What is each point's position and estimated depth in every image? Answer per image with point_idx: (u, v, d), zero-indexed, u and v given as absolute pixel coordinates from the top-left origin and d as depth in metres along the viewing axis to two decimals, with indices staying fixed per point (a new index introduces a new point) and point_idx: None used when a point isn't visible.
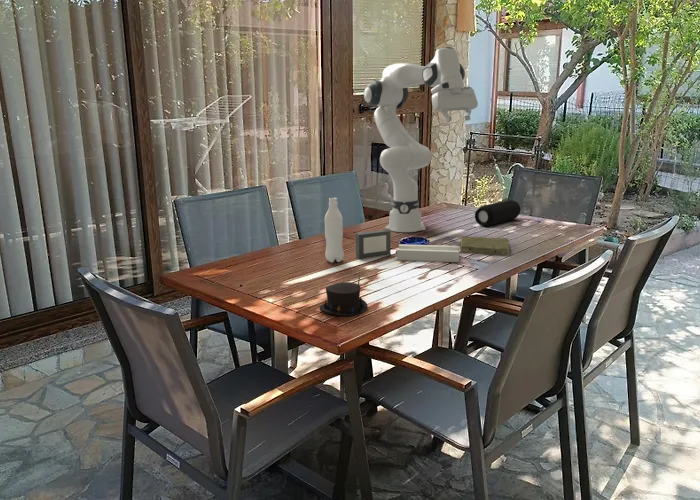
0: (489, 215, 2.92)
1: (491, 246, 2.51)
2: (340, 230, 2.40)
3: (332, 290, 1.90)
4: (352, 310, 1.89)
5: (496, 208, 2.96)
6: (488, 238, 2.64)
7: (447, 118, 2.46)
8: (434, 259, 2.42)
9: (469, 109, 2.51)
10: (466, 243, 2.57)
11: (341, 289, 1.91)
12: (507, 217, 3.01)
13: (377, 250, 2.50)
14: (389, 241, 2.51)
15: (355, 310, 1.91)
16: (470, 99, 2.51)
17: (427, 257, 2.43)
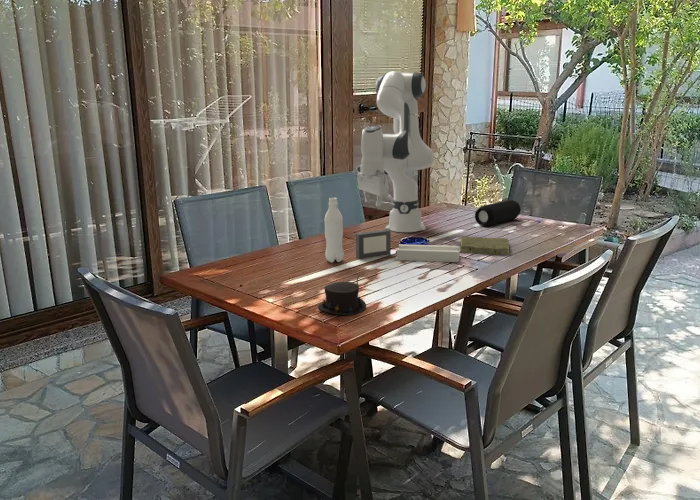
0: (489, 215, 2.92)
1: (491, 246, 2.51)
2: (340, 230, 2.40)
3: (331, 289, 1.91)
4: (350, 309, 1.90)
5: (496, 208, 2.96)
6: (488, 238, 2.64)
7: None
8: (434, 259, 2.42)
9: (377, 196, 2.39)
10: (466, 243, 2.57)
11: (340, 288, 1.92)
12: (507, 217, 3.01)
13: (377, 250, 2.50)
14: (389, 241, 2.51)
15: (353, 309, 1.92)
16: (376, 187, 2.37)
17: (427, 257, 2.43)
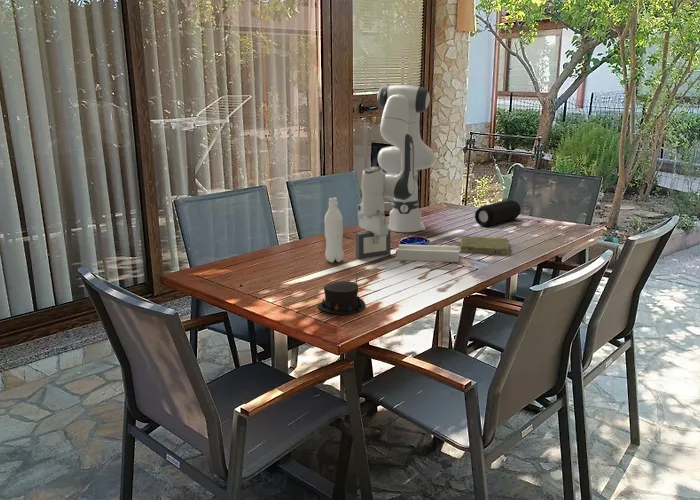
0: (489, 215, 2.92)
1: (491, 246, 2.51)
2: (340, 230, 2.40)
3: (330, 289, 1.91)
4: (350, 309, 1.90)
5: (496, 208, 2.96)
6: (488, 238, 2.64)
7: None
8: (434, 259, 2.42)
9: (374, 234, 2.46)
10: (466, 243, 2.57)
11: (339, 287, 1.92)
12: (507, 217, 3.01)
13: (377, 249, 2.50)
14: (389, 241, 2.51)
15: (353, 309, 1.92)
16: (376, 226, 2.41)
17: (427, 257, 2.43)
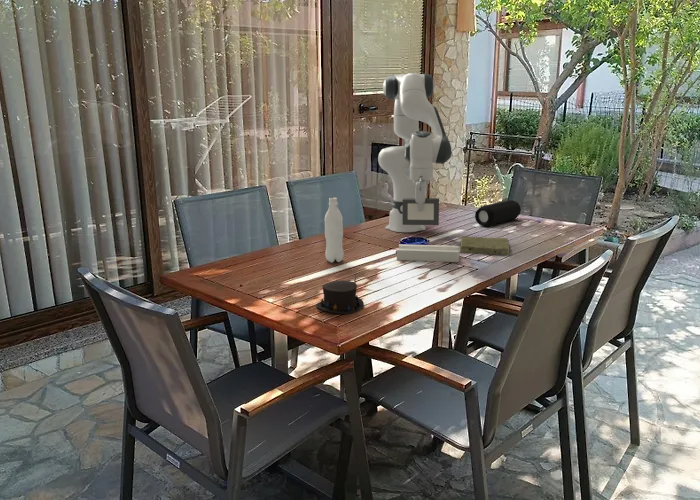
0: (489, 215, 2.92)
1: (491, 246, 2.51)
2: (340, 230, 2.40)
3: (329, 288, 1.92)
4: (348, 308, 1.91)
5: (496, 208, 2.96)
6: (488, 238, 2.64)
7: None
8: (434, 259, 2.42)
9: None
10: (466, 243, 2.57)
11: (338, 287, 1.93)
12: (507, 217, 3.01)
13: (423, 217, 2.42)
14: (437, 210, 2.40)
15: (351, 308, 1.93)
16: None
17: (427, 257, 2.43)
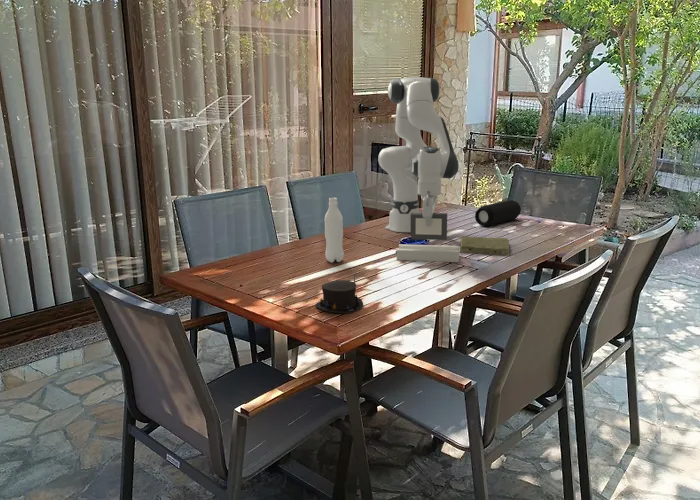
0: (489, 215, 2.92)
1: (491, 246, 2.51)
2: (340, 230, 2.40)
3: (328, 288, 1.92)
4: (347, 308, 1.91)
5: (496, 208, 2.96)
6: (488, 238, 2.64)
7: None
8: (434, 259, 2.42)
9: None
10: (466, 243, 2.57)
11: (337, 286, 1.93)
12: (507, 217, 3.01)
13: (431, 232, 2.43)
14: (445, 225, 2.41)
15: (351, 308, 1.93)
16: None
17: (427, 257, 2.43)
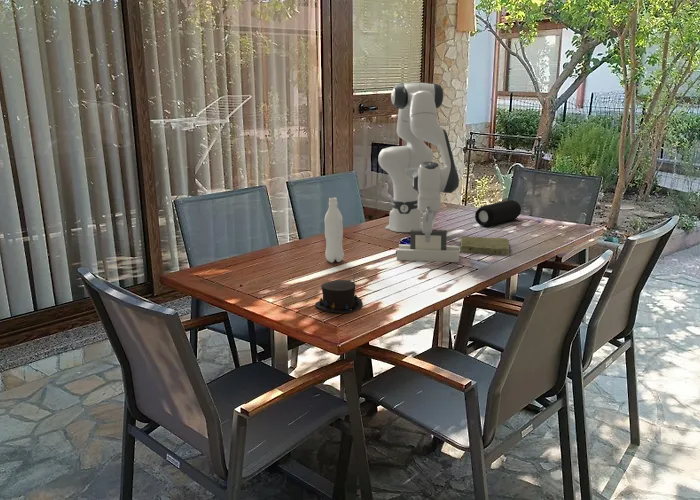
0: (489, 215, 2.92)
1: (491, 246, 2.51)
2: (340, 230, 2.40)
3: (327, 287, 1.93)
4: (346, 307, 1.92)
5: (497, 208, 2.96)
6: (488, 238, 2.64)
7: None
8: (434, 259, 2.42)
9: None
10: (466, 243, 2.57)
11: (336, 286, 1.94)
12: (507, 217, 3.01)
13: (431, 249, 2.45)
14: (445, 242, 2.43)
15: (350, 307, 1.93)
16: None
17: (427, 257, 2.43)
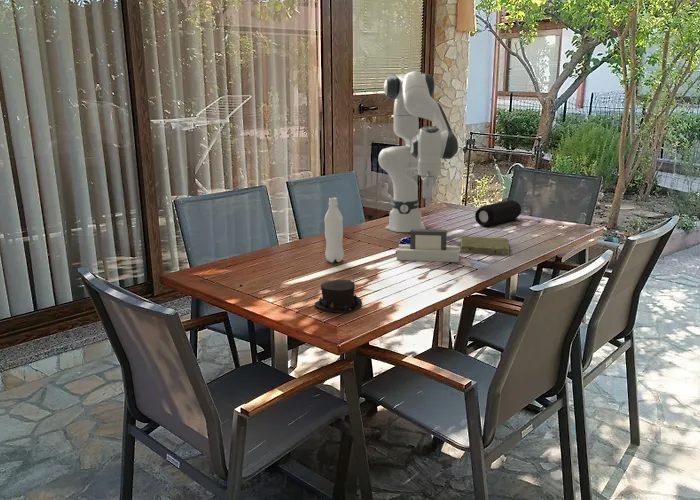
0: (489, 215, 2.92)
1: (491, 246, 2.51)
2: (340, 230, 2.40)
3: (326, 287, 1.93)
4: (345, 307, 1.92)
5: (497, 208, 2.95)
6: (488, 238, 2.64)
7: None
8: (434, 259, 2.42)
9: (425, 198, 2.36)
10: (466, 243, 2.57)
11: (336, 286, 1.94)
12: (508, 217, 3.01)
13: (431, 249, 2.45)
14: (445, 242, 2.43)
15: (349, 307, 1.94)
16: None
17: (427, 257, 2.43)
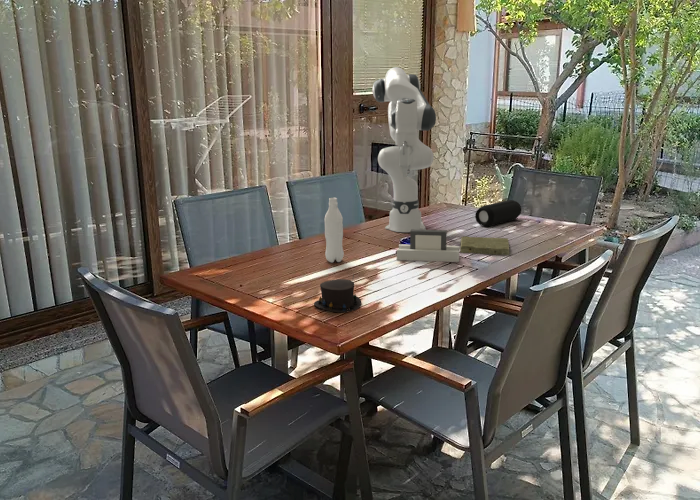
0: (489, 215, 2.92)
1: (491, 246, 2.51)
2: (340, 230, 2.40)
3: (325, 286, 1.94)
4: (344, 307, 1.92)
5: (497, 208, 2.95)
6: (488, 238, 2.64)
7: None
8: (434, 259, 2.42)
9: (402, 167, 2.45)
10: (466, 243, 2.57)
11: (335, 285, 1.95)
12: (508, 217, 3.01)
13: (431, 249, 2.45)
14: (445, 242, 2.43)
15: (347, 307, 1.94)
16: None
17: (427, 257, 2.43)
